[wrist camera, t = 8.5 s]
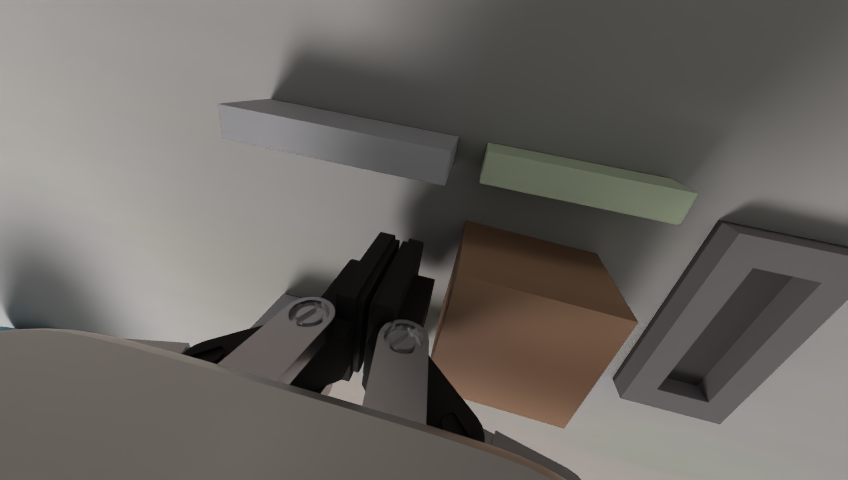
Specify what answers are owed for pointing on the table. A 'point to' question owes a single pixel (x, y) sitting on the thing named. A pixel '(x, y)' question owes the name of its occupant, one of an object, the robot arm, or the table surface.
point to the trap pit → (733, 320)
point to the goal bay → (586, 183)
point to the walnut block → (528, 324)
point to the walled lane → (338, 145)
